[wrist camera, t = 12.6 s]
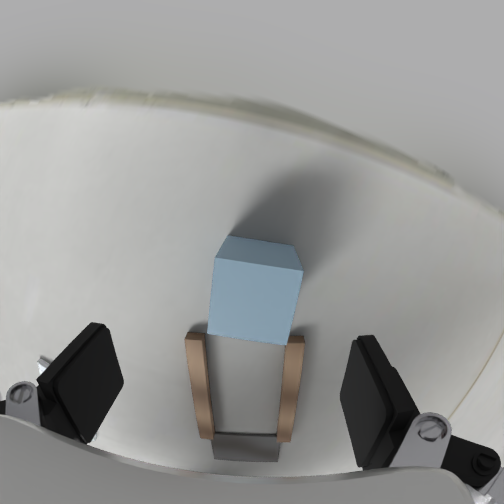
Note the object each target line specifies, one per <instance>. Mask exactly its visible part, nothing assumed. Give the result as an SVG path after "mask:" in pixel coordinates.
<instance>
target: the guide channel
mask: <svg viewBox="0 0 504 504" xmlns="http://www.w3.org/2000/svg"><path fill="white" fill-rule="evenodd" d="M185 347H186V354H187V362H188V369H189V376H190V382H191V389H192V395H193V401H194V407H195V412H196V418H197V423H198V428H199V434H200V438H202V439H211V441H212V447H213V453H214V459H218V460H230V461H249V462H277V461H278V455H279V448H280V442H290V441H291V435H292V430H293V424H294V418H295V412H296V405H297V399H298V392H299V385H300V378H301V371H302V363H303V355H304V347H305V341H304V337H303V336H289V337H288V341H287V345H285V354H284V366H283V377H282V388H281V398H280V408H279V417H278V427H277V435H255V434H233V433H219V432H215V428H214V421H213V413H212V404H211V396H210V386H209V377H208V367H207V356H206V345H205V333H193V332H188V333H187V335H186V337H185Z"/></svg>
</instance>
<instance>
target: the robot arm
mask: <svg viewBox="0 0 504 504" xmlns="http://www.w3.org/2000/svg"><path fill="white" fill-rule="evenodd" d="M36 380H37V382H38V384H39V385H38V386H37V387H36V386H35V385H34V384H33V383H31V382H27V381H23V382H19V383H16V384H14V385H13V386H12V387H10V388H9V390H8V392H7V395H6V400H4V401H0V504H504V467H503V468H502V467H501V461H500V457H499V455H498V454H497V453H496V452H495V451H494V450H493V449H491V448H488V447H485V446H482V445H479V444H476V443H473V442H470V441H467V440H464V439H462V438H459V437H456V436H453V435H451V431H452V428H451V425H450V423H449V421H448V420H447V419H446V418H445V417H443V416H442V415H439V414H437V413H432V412H429V413H423V414H420V412H419V410H418V408H417V407H416V405H415V403H414V401H413V399H412V397H411V395H410V393H409V392H408V390H407V388H406V386H405V384H404V382H403V381H402V379H401V377H400V375H399V373H398V372H397V370H396V369H395V368H394V367H392V366H391V364H390V362H389V361H388V359H387V357H386V355H385V354H384V352H383V350H382V348H381V347H380V345H379V343H378V341H377V340H376V338H375V336H374V335H364V336H358V338H357V340H353V342H352V346H351V350H350V355H349V359H348V363H347V368H346V372H345V376H344V380H343V384H342V387H341V391H340V401H341V405H342V408H343V412H344V416H345V419H346V423H347V427H348V431H349V435H350V438H351V442H352V446H353V450H354V454H355V458H356V462H357V466H358V467H362V468H363V471H356V472H348V473H340V474H330V475H317V476H300V477H247V476H231V475H220V474H210V473H202V472H195V471H188V470H182V469H176V468H170V467H165V466H160V465H156V464H151V463H147V462H143V461H138V460H135V459H131V458H127V457H123V456H120V455H116V454H113V453H110V452H107V451H103V450H100V449H97V448H94V447H92V446H89V445H87V443H90V442H91V441H92V439H93V438H94V436H95V434H96V432H97V431H98V429H99V427H100V425H101V423H102V422H103V420H104V418H105V416H106V415H107V413H108V411H109V409H110V408H111V406H112V404H113V402H114V401H115V399H116V397H117V396H118V394H119V392H120V390H121V389H122V387H123V384H124V380H123V376H122V373H121V370H120V366H119V363H118V360H117V356H116V353H115V349H114V345H113V342H112V338H111V334H110V330H109V329H108V328H106V326H105V325H104V324H100V323H94V322H91V323H90V324H89V325H88V326H87V327H86V328H85V329H84V330H83V331H82V332H81V333H80V334H79V335H78V336H77V337H76V338H75V339H74V340H73V341H72V342H71V343H70V344H69V345H68V346H67V347H66V348H65V349H64V350H63V351H62V352H61V353H60V354H59V356H58V357H57V358H56V359H55V360H54V361H53V362H52V363H51V364H50V365H49V366H48V367H47V368H46V369H45V371H44V372H43V373H42V374H41V375H40V376H39V377H38V378H37V379H36Z"/></svg>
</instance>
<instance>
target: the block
mask: <svg viewBox="0 0 504 504" xmlns="http://www.w3.org/2000/svg"><path fill="white" fill-rule="evenodd" d="M303 273H304V270H303V268H302V265H301V263H300V260H299V258H298V256H297V253H296V251H295V248H294V246H293V245H287V244H280V243H274V242H268V241H261V240H255V239H248V238H242V237H235V236H229V235H228V236H227V238H226V239H225V241H224V243H223V245H222V246H221V248H220V250H219V251H218V253H217V255H216V257H215V262H214V271H213V280H212V289H211V298H210V308H209V318H208V329H207V334H212V335H218V336H224V337H230V338H236V339H243V340H249V341H256V342H263V343H271V344H279V345H287V341H288V337H289V333H290V329H291V325H292V321H293V317H294V313H295V308H296V304H297V300H298V295H299V291H300V286H301V282H302V277H303Z"/></svg>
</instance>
